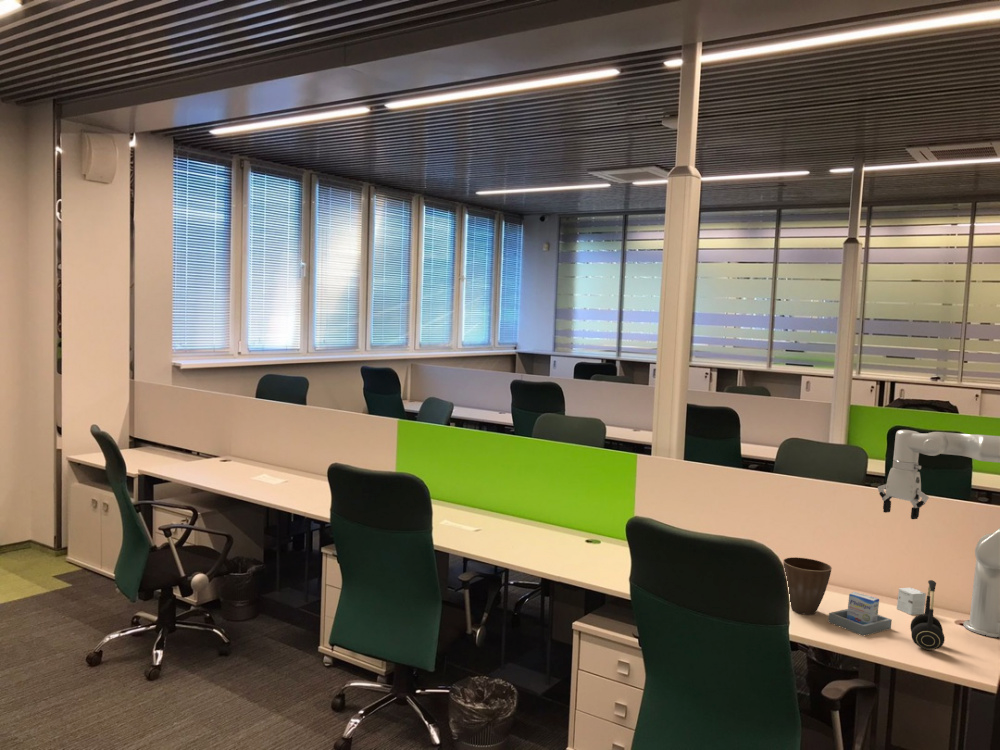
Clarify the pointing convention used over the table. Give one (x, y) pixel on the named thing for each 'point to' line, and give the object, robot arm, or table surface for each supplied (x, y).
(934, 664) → the table surface
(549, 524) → the table surface
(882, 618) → the desk tray
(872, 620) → the medicine box
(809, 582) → the plant pot
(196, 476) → the table surface
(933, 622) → the headphones
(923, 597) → the skincare box
